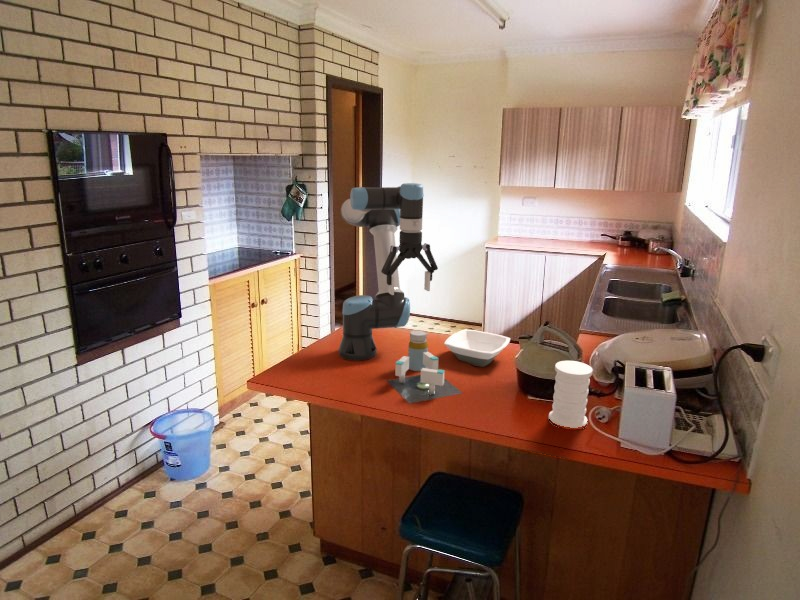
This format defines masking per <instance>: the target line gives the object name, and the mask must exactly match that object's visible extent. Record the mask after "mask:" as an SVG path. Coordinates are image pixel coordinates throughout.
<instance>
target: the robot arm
mask: <svg viewBox="0 0 800 600" xmlns="http://www.w3.org/2000/svg"><path fill="white" fill-rule="evenodd" d="M349 196H350V198H348V199H346V200H345V201H344V202H343V203H342V204H341V207H340V215H341V217H342V219H343V221H345V222H346V223H347V224H349V225H351V226H354V227H358V228H369V233H371V235H372V236H373V243H374V253H375V264H376V275H377V276H376V277H377V284H378V285H377V286H378V291H377V293H376V294H375V299H373V297H372V296H370V295H367V294H365V295H364V294H360V295H354V296H351V297H348V298H347V299H345V300H344V301H343V303H342V312H341V313H342V338H341V341H340V344H339V347H338V356H339V357H340V358H342V359H344V360H347V361H353V362H354V361H355V362H356V361H357V362H358V361H367V360H370V359H373V358H375V357H376V355H377V346H376V343H375V340H374V337H373V329H375V330H377V329H391V328H394V329H397V328H402V327H403V328H404V327H405V326H407V325H408V322H409V319H410V316H411V315H410V313H411V302H410V299H409V297H405V292H404V291H403V290H401V287H400V286H401V285H400V277H399V267H400V265H401V264H402V263H403V261H405V260H406V259H407V260H410V259H416V258H417V260H418V261H419V262H420V263H421V265H422V266H423V267H424V268H425V271H424V287H423V289H424V290H425V291H426V292H430V291H431V282H432V281H433V273H435V271H437V270H438V265H437V263H436V260H435V258H434V256H433V254H432V251H431V245H430V243H424V244H422V241H423V232H422V230H423V209H424V208H423V207H424V206H423V205H424V196H425V195H424V186H423V184H422V183H415V182H411V183H410V182H407V183H406V182H405V183H402V184H401V185H399V186H397V187H394V186H393V187H391V186H389V187H386V186H385V187H383V186H382V187H381V186H380V187H369V186H368V187H366V186H365V187H363V186H360V187H352V188H351V190H350V193H349ZM398 227H399V230H400V231H399V239H398V240H399V241H398V242H399V245H398V246H396V235H395V234H396V232H397V231H398ZM398 251H399V254H398V255H397V253H398ZM421 251H424V254H425V255H426V258H427V260H428V261H427V260H426V259H425V257H424V256H423V255H422V253H421Z"/></svg>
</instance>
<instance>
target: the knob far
mask: <svg viewBox="0 0 800 600" xmlns="http://www.w3.org/2000/svg"><path fill="white" fill-rule="evenodd" d="M439 360H440V359H439V357H437V356H435V355H433V353H431V352H430V351H428V352H423V365H425V366H426V367H427V369H434V370H439Z"/></svg>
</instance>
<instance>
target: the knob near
mask: <svg viewBox="0 0 800 600" xmlns="http://www.w3.org/2000/svg"><path fill="white" fill-rule="evenodd" d="M394 364H395V369H394V370H395V371H394V372H395V374H394V376H396V377H399V378H398V379H399V382H400V383H404V382H405V377H406V373H407V371H408V370H410V369H409V357H408V356H405V355H403V356H402V357H401V358H400V359H398V360H396V362H395V363H394Z"/></svg>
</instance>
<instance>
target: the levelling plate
mask: <svg viewBox="0 0 800 600" xmlns="http://www.w3.org/2000/svg"><path fill="white" fill-rule="evenodd" d="M420 380H421V374H418V375H412V376H410V375H409V376H405V382H404V383H400V382H399V378H395V379H394V378H393V379H389V380H386V382H387V383H388V384H389V385H390V386H391V387H392V388H393V389H394V390H395V391H396V392H397V393H398V394H399V395H400V396H401V397H402V398H403V399H404V400H405V401H406V402H407V403H408V404H413V403H418V402H419V403H420V402H424V401H429V400H435V399H440V398H445V397H450V396H455V395H461V394H463V392H462V391H461V390H460V389H459V388H458V387H456V386H454V385H453V384H452V383H451V382H450V381H448V380H447V379H446V378H445V377H444V384H443V386H440V385H435V394H429V384H427V383H421V382H420Z"/></svg>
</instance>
